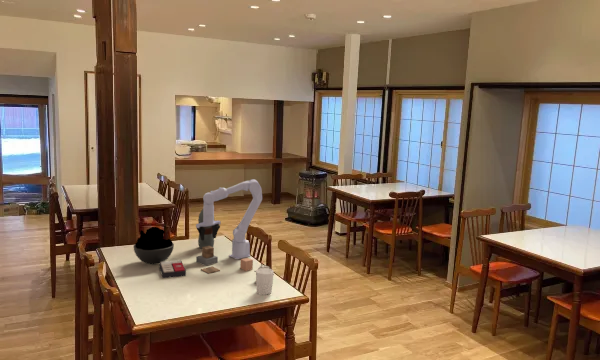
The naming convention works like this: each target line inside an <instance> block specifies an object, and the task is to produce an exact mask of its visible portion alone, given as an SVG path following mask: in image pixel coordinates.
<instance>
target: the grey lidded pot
mask: <svg viewBox="0 0 600 360" xmlns="http://www.w3.org/2000/svg"><path fill="white" fill-rule="evenodd" d="M260 268H269V269H271V265H269V266H268V265H263V264H262V263H260V266H259V267H258V269H260ZM254 272H255V273H256V270H254ZM274 275H275V274H274V273H273V276H274Z"/></svg>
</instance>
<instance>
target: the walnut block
mask: <svg viewBox="0 0 600 360" xmlns="http://www.w3.org/2000/svg"><path fill="white" fill-rule="evenodd" d="M214 251H215V248H214V246H213V247H211V246H205V247H202V249H201V255H202V256H203V257H205V258H210V257H214V256H215V255H214V253H215V252H214Z"/></svg>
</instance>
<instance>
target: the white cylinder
mask: <svg viewBox="0 0 600 360" xmlns="http://www.w3.org/2000/svg"><path fill="white" fill-rule="evenodd" d="M255 271H256V272H255V282H256V283H255V285H256V293H257V294H259V295H261V294H262V295H263V296H266V295H267V294H268V295H270V294H272V290H273V284H274V275H273V274H274V273H275V272H274V270H273V269H271V268H270V269H269V268H260V269H256V270H255Z"/></svg>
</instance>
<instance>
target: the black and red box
mask: <svg viewBox="0 0 600 360" xmlns="http://www.w3.org/2000/svg"><path fill="white" fill-rule="evenodd" d="M158 266H159V268H158V269H159V271H160V274H161V276H162V277H161V278H162V279H169V278H179V277H186V276H187V270H186V267H185V266H184V263H183V261H182V260H181V259H178V260H177V259H176V260H165V261H163V262H159V264H158Z"/></svg>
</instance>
